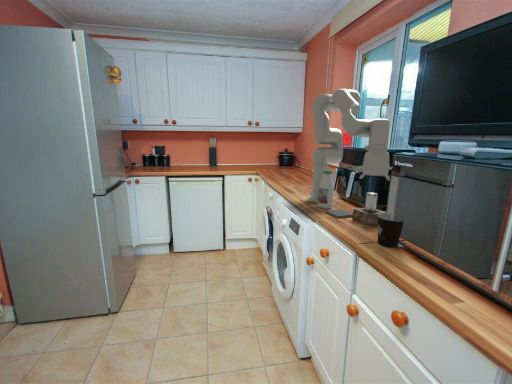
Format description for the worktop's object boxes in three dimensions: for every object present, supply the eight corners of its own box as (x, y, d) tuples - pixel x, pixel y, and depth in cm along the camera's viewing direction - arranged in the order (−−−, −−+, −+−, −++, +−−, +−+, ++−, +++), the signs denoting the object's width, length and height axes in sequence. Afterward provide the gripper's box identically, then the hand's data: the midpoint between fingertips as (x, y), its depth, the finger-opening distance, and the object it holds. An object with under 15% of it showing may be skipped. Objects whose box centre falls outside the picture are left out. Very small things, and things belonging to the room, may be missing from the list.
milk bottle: (327, 205, 145) (329, 169, 141) (335, 208, 138) (338, 171, 134) (314, 205, 143) (317, 169, 139) (322, 209, 136) (325, 171, 132)
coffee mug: (402, 251, 86) (406, 222, 84) (374, 246, 90) (377, 218, 87) (399, 239, 96) (403, 213, 94) (374, 235, 100) (377, 210, 98)
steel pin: (361, 220, 118) (364, 192, 116) (369, 219, 120) (372, 192, 117) (368, 223, 114) (371, 194, 112) (376, 222, 116) (379, 194, 113)
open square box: (352, 219, 120) (353, 208, 119) (369, 217, 123) (370, 207, 122) (368, 225, 111) (369, 214, 110) (386, 223, 114) (387, 213, 113)
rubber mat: (325, 212, 130) (325, 210, 130) (341, 211, 133) (341, 209, 133) (337, 218, 121) (337, 216, 121) (354, 216, 124) (355, 214, 124)
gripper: (355, 148, 111) (351, 188, 114) (401, 149, 103) (396, 191, 107) (356, 148, 117) (353, 185, 121) (399, 149, 110) (395, 188, 113)
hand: (373, 188), depth 114 cm, fingers open, 9 cm apart
